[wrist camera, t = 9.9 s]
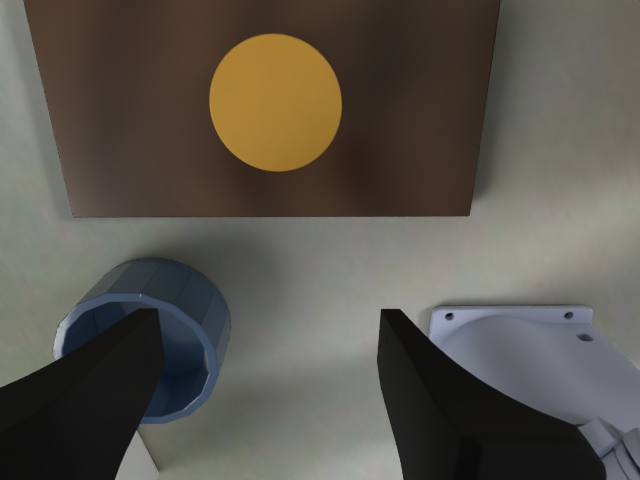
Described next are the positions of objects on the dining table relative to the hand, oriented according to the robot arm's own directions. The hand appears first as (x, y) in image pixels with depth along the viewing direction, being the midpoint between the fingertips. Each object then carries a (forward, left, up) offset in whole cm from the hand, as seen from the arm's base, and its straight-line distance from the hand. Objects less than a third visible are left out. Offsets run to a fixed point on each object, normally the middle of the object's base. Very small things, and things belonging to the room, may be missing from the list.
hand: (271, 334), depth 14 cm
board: (+1, -7, -10) cm, 12 cm away
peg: (0, -7, -9) cm, 11 cm away
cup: (+8, +6, -10) cm, 14 cm away
